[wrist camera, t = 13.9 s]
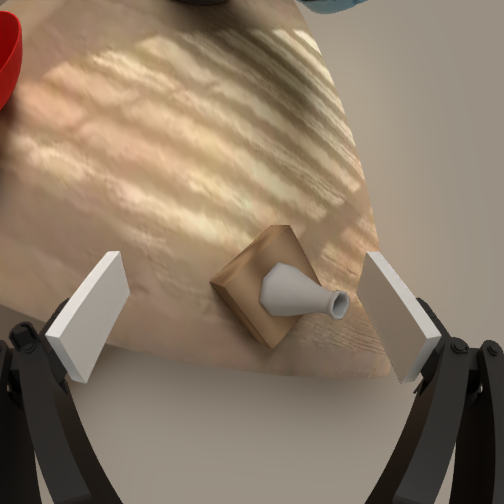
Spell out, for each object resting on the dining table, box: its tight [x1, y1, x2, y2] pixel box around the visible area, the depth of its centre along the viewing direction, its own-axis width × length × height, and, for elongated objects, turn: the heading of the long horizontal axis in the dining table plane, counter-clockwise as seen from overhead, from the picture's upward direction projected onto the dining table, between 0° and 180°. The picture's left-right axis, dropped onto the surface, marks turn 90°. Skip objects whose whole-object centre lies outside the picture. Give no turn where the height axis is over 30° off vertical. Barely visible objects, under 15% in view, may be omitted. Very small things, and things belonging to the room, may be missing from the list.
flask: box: [259, 262, 350, 320], centre depth 32 cm, size 7×7×10 cm
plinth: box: [210, 225, 322, 350], centre depth 38 cm, size 12×12×4 cm
